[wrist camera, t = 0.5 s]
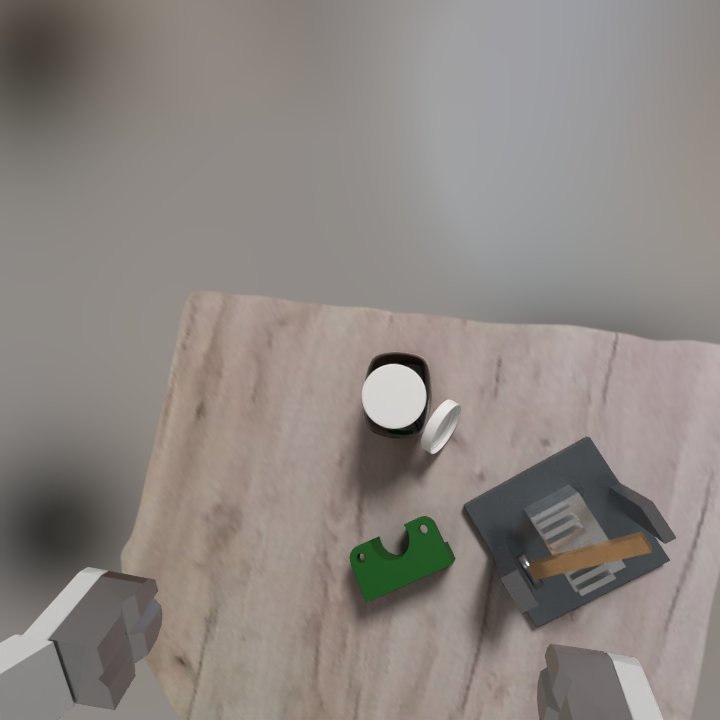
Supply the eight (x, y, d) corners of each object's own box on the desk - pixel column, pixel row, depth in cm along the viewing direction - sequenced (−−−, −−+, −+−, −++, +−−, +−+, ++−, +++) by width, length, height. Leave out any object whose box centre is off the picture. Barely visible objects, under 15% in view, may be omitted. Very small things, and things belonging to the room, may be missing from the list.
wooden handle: (658, 555, 43) (657, 562, 42) (535, 583, 51) (533, 590, 50) (635, 521, 44) (634, 527, 43) (517, 554, 51) (514, 560, 50)
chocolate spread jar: (375, 353, 61) (360, 346, 49) (463, 357, 59) (468, 352, 47) (370, 444, 60) (353, 459, 49) (458, 452, 58) (462, 469, 47)
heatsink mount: (665, 556, 54) (713, 594, 44) (534, 622, 56) (554, 672, 46) (586, 436, 56) (617, 447, 46) (464, 504, 58) (468, 528, 48)
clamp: (425, 515, 63) (441, 507, 55) (445, 559, 61) (465, 557, 52) (344, 553, 60) (348, 549, 52) (362, 600, 58) (370, 604, 50)
